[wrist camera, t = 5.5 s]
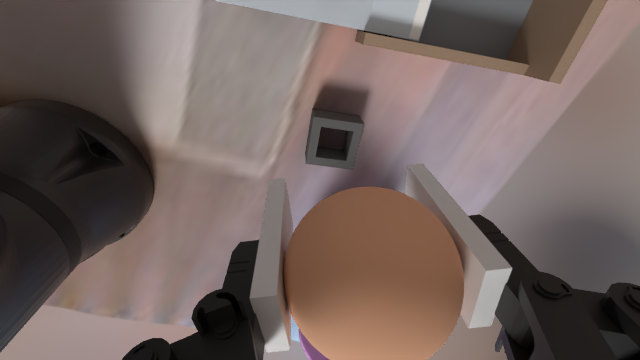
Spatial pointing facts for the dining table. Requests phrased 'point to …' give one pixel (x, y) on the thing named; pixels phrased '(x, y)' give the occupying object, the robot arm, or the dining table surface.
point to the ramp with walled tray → (462, 29)
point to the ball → (373, 277)
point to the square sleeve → (333, 156)
